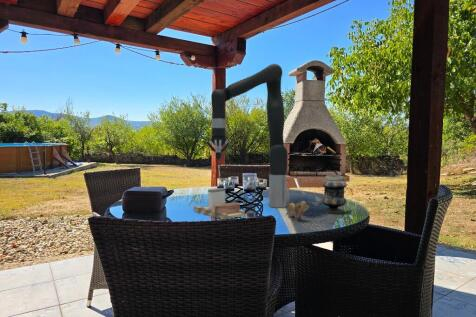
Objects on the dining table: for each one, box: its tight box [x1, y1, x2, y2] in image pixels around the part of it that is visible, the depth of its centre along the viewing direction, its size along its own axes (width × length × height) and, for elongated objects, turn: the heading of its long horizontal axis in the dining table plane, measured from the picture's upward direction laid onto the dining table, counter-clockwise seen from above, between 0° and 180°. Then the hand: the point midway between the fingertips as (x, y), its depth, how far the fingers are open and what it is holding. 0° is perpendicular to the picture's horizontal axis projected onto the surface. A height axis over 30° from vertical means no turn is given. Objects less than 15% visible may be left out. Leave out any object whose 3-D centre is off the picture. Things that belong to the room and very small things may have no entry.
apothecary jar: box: [320, 174, 348, 215], centre depth 169 cm, size 12×12×18 cm
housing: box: [193, 201, 246, 220], centre depth 164 cm, size 24×12×6 cm, turn 43°
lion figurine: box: [285, 200, 310, 222], centre depth 155 cm, size 15×5×9 cm, turn 29°
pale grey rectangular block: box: [207, 187, 226, 211], centre depth 164 cm, size 3×8×10 cm, turn 133°
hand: (218, 159), depth 184 cm, fingers closed
